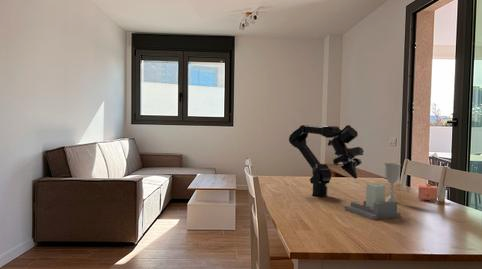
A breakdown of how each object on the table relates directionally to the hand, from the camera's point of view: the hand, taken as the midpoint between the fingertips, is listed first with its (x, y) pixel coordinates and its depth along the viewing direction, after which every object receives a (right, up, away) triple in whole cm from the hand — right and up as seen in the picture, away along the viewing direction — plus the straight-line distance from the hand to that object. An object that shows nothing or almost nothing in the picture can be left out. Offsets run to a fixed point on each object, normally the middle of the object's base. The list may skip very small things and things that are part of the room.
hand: (356, 178), depth 152 cm
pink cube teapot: (+39, -13, +12) cm, 42 cm away
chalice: (+19, -12, +7) cm, 24 cm away
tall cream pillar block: (+2, -11, -17) cm, 20 cm away
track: (+1, -12, -15) cm, 19 cm away
